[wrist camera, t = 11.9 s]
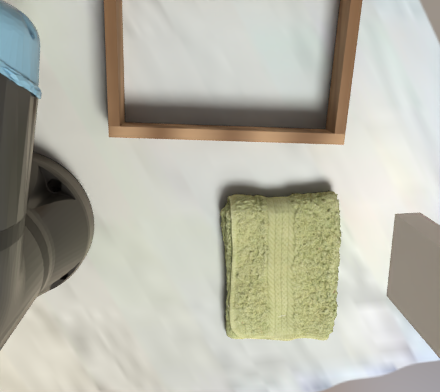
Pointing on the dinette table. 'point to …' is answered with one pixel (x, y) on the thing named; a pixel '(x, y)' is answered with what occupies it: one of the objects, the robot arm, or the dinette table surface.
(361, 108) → the dinette table surface
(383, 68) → the dinette table surface
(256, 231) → the washcloth
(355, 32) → the wooden frame
